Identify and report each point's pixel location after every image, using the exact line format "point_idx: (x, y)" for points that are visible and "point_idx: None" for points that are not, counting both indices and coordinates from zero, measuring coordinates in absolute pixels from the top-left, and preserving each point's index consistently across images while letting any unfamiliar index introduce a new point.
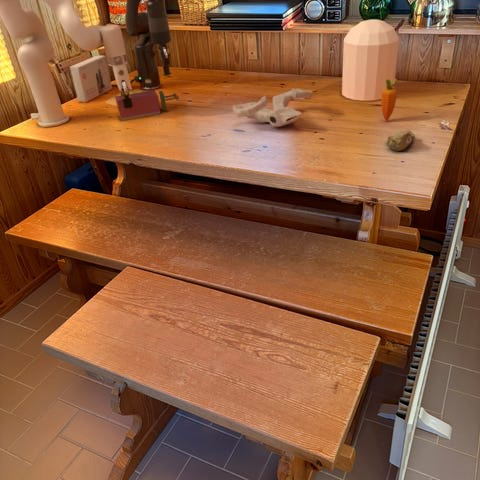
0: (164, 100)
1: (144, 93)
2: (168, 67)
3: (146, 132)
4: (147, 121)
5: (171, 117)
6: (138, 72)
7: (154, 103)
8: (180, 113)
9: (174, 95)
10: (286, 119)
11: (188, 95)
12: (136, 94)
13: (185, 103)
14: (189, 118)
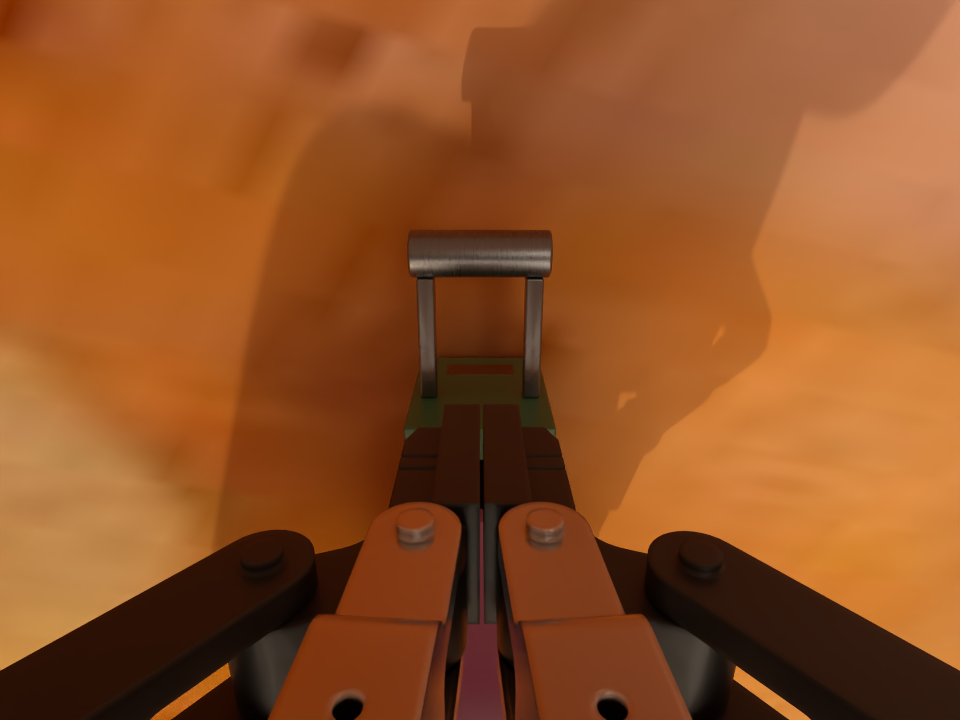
0: (547, 400)
1: (483, 629)
2: (526, 489)
3: (900, 568)
4: (673, 529)
5: (717, 345)
6: None
7: None
8: (668, 245)
9: (485, 274)
10: None
11: (92, 3)
12: (466, 695)
13: (384, 118)
14: (869, 198)
